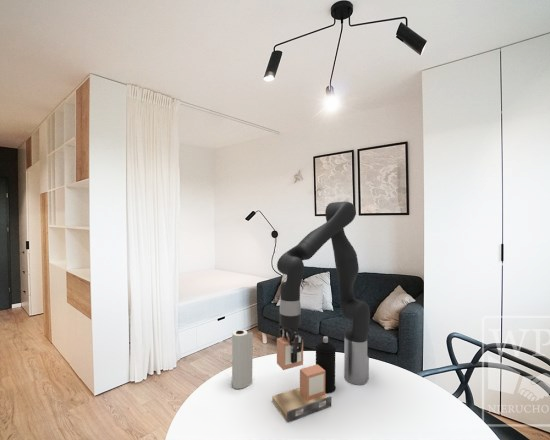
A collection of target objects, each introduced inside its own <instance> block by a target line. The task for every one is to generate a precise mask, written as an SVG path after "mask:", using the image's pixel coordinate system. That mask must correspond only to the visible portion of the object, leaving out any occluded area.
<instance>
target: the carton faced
mask: <svg viewBox="0 0 550 440" xmlns="http://www.w3.org/2000/svg"><path fill="white" fill-rule="evenodd" d="M299 388H300V394H301V395H302V396H303V397H304V398H305V399H306V401H309V400H312V399H315V398H318V397H321V396H323V395H326V393H325V370H324V369H323V368H321V367H320V366H319V365H318V364H317V365H316V364H313V365H310V366H306V367H302V368H300V369H299Z"/></svg>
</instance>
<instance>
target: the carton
mask: <svg viewBox="0 0 550 440" xmlns="http://www.w3.org/2000/svg"><path fill="white" fill-rule="evenodd" d="M294 342H295V341H291V343H294ZM293 349H294V345H293ZM276 364H277V365H278V366H279V367H280V368H281V370H282V371H285V370H289V369H292V368H296V367H300V366H303V365H304V341H303V342H302V349H301V352H298V353H297V362H296V363H291V346H290V345H289V342H288V339H286V338H283V337H281V338H280V337H277V338H276Z"/></svg>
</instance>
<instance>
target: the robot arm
mask: <svg viewBox="0 0 550 440" xmlns="http://www.w3.org/2000/svg"><path fill="white" fill-rule="evenodd" d="M356 211H357V209H356V207H355V205H354V204H353V203H352V202H350V201H333V202H330V203H328V204H327V205H326V207H325V213H324V214H325V216H324V217H325V221H326V222H325V223H323V224H322V225H320V226H318V227H317V228H315V229H313V230H311V231H310V232H309V233H308V234H307V235H306V236H304V237H303V238H302V239H301V240H300V241H299V242H298V243H297V244H296V245H295V246H293V247H292V248H290V249H288V250H287V251H285V252H284V253H283V254H281V256H280V257H279V258H278V260H277V262H276V268H277V271H278V272H279V273H281V274H283V275H285V276H286V280H285V281H283V282H282V283H281V284H280V300H279V324H278V325H277V326H278V335H279V337H278V338H281V337H283V338H286V339H288V342H289V345H290V346H291V363H296V362H297V353H298V352H301V349H302V342H303V343H304V336H303V335H299V330H298V328H299V327H300V325H301V324H302V323H301V322H302V321H301V317H302V316H301V315H302V314H301V313H302V312H301V285H302V282H303V278H304V274H305V265H304V262H303V261H307V260H310V259H312V257H314V255H315V254H316V253H317V252H318V251H319V250H320V249H321V248H323V246H324V245H325V244H326V243H327V242H328V241H329V240H331V244H332V251H333V258H334V263H335V269H336V270H335V271H336V276H337V281H338V290H339V291H338V292H339V307H340V313H341V315H342V317H343V318H345V319H346V320H348V321H349V322H350V321H351V322H352V327H347V328H345V330H344V341H343V342H344V346H343V347H344V349H343V350H344V354H343V355H344V358H343V359H344V362H343V364H344V369H343V370H344V373H343V377H344V379H345V381H346V382H348V383H350V384H351V385H357V386H362V385H365V384H366V383H367V382H368V380H369V379H370V377H369V376H370V357H369V356H368V335H369V332H370V323H371V322H370V321H371V309H370V306H369V305H368V303H367V302H365V301H362V300H359V299H357V298H356V297H355V293H354V292H355V291H354V284H355V281H356V280H357V279H356V278H357V277H358V275H359V272H360V271H359V269H360V268H359V259H358V254H357V252H356V250H355V248H354V246H353V245H352V243H351V242H350V240H349V238H348V237H347V236H346V233H345V230H344V229H345V228H346V227H347V226H348V225H349V224H351V223H352V222H353V221H354V220H355V217H356V214H357V212H356ZM291 341H295V342H294V343H291ZM293 345H294V349H293Z"/></svg>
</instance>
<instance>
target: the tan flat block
mask: <svg viewBox="0 0 550 440" xmlns="http://www.w3.org/2000/svg"><path fill="white" fill-rule="evenodd" d="M271 402H272V403H273V405H274V406H275V408H276V409H277V410H278V411H279V413H280V415H281V416H282V417H283V419H284V420H285V421H286V423H290V422H293V421H296V420H298V419H301V418H303V417H307V416H309V415H312V414H314V413H317V412H320V411H323V410H325V409H328V408H330V407H332V396H327V395H326V394H325V395H323V396H321V397H318V398H315V399H312V400H309V401H306V399H305V398H304V397H303V396H302V395H301V394H300V387H297V388H293V389H290V390H288V391H285V392H281V393H278V394H275V395H272V397H271Z"/></svg>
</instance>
